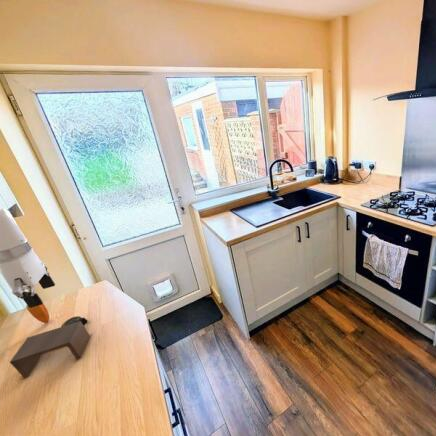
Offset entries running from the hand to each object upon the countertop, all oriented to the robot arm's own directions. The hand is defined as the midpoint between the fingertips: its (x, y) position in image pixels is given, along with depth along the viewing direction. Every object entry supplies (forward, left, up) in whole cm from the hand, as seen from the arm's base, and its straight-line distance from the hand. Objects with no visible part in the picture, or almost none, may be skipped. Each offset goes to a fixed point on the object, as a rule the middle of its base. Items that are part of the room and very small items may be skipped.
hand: (43, 295), depth 79 cm
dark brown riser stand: (-6, 0, -25) cm, 26 cm away
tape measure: (-4, +12, -25) cm, 28 cm away
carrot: (-18, +22, -25) cm, 38 cm away
